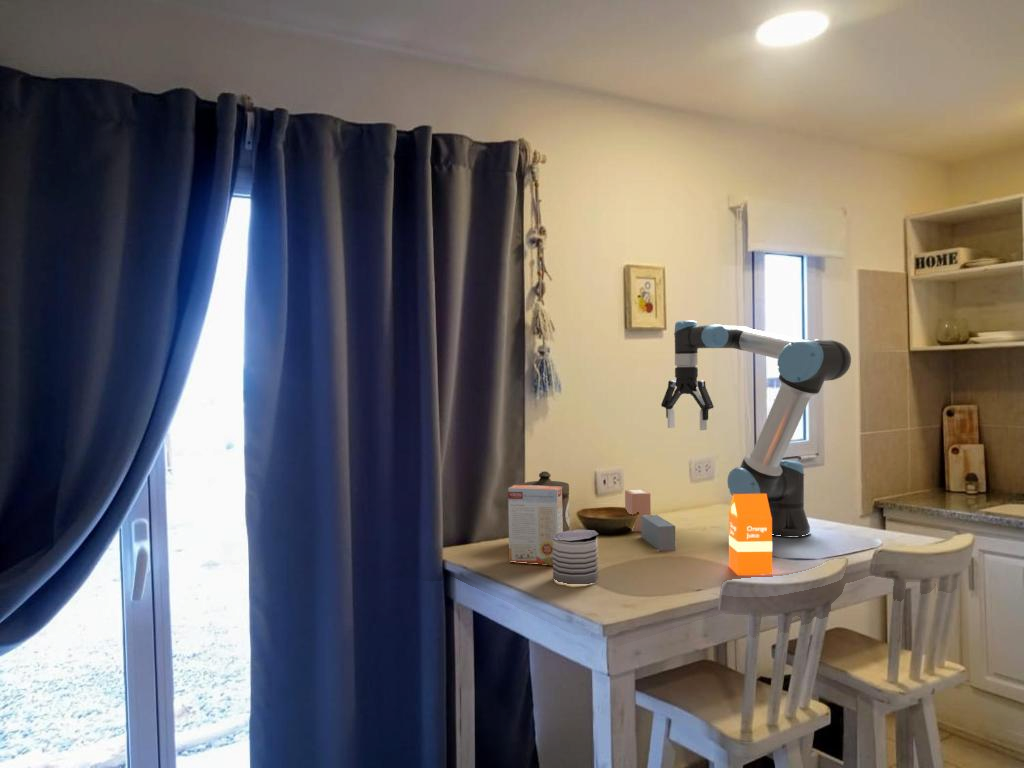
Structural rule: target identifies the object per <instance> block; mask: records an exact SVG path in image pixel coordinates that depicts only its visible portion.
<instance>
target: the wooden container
mask: <svg viewBox="0 0 1024 768" xmlns="http://www.w3.org/2000/svg"><path fill="white" fill-rule="evenodd" d="M551 476H552V475H551V473H550V472H548V471H546V470H545V471H541V472H540V473H539V474H538V477H539V479H538V480H534V481H527V482H523V483H521V484H520V485H535V486H561V487H562V516H563V532H564V531H571V530H570V528H571V527H570V524H571V522H570V498H569V497H570V484H569V483H568V482H563V481H558V480H551V479H550V478H551Z"/></svg>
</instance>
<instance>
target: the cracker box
mask: <svg viewBox="0 0 1024 768" xmlns="http://www.w3.org/2000/svg"><path fill="white" fill-rule="evenodd" d="M507 495H508V497H507V499H508V500H507V501H508V505H507V506H508V507H507V508H508V510H507V511H508V515H507V516H508V552H509V553H508V554H509V555H508V557H509V559H508V561H516V562H527V563H538V564H547V565H553V537H552V536H553V535H555V534H558V533H560V532H563V516H562V487H561V486H535V485H521V484H514V485H512V486H509V487H508V488H507Z"/></svg>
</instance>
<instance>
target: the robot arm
mask: <svg viewBox="0 0 1024 768" xmlns="http://www.w3.org/2000/svg"><path fill="white" fill-rule="evenodd" d="M673 335H674V366H675V368H674V377H675V380H669V381H668V382H667V389H666V391H665V393H664V397H663V399H662V402H661V408H665V411H666V412H665V414H666V415H665V416H666V417H665V418H666V419H667V428H668V429H672V428H676V427H675V426H676V425H675V408H674V406H675V405H676V403H678V402H677V401H678V400H679V399H680V398H681V396H682V395H684V394H685V395H691V396H692V397H693V399H694V400H695V402H696V403H697V405H698V406H699V408H700V410H699V431H707V429H708V427H707V425H708V424H707V423H708V420H709V410H712V409H713V408H715V407H714V404H713V401H712V398H711V396H710V394H709V391H708V389H707V386H706V381H705V380H697V379H698V378H699V377H698V376H699V375H698V372H699V369H698V367H697V366H698V365H699V364H698V360H699V359H698V353H699V351H698V349H735V350H739V351H745V352H749V353H753V354H757V355H761V356H765V357H769V358H772V359H777V366H778V369H777V370H778V373H779V375H778V381H779V382H780V384H781V385H780V387H779V389H778V391H777V393H776V396H775V399H774V401H773V402H772V403H773V404H772V406H771V407H770V409H769V412H768V415H767V416H766V419H765V422H764V424H763V427H762V429H761V431H760V434H759V435H758V438H757V440H756V442H755V445H754V447H753V449H752V452H751V453H746V454H745V456H744V457H743V460H742V461H741V464H740V466H737V467H734V468H733V469H731V471H729V474H727V475H728V476H727V488H728V489H729V493H730V495H731V498H732V497H733V494H767V499H768V503H769V508H770V513H771V517H772V534H774V535H781V536H802V535H806V534H808V533H809V532H810V533H811V527H810V524H809V520H808V518H807V515H806V512H805V511H806V510H805V506H804V505H805V504H804V501H805V496H804V495H805V492H804V491H805V489H804V488H805V484H804V483H805V480H804V479H805V477H804V476H805V473H804V472H805V471H804V465H803V463H802V462H800V461H798V460H797V461H795V460H788V459H783V458H784V457H785V455H786V452H787V451H788V448H789V445H790V443H791V441H792V439H793V436H794V434H795V432H796V430H797V427H798V426H799V423H800V421H801V419H802V417H803V414H804V413H805V410H806V408H807V406H808V404H809V402H810V399H811V397H812V396H815V395H818V394H819V393H820V391H821V388H822V387H823V386H824V385H823V384H824V382H825V381H835V380H838V379H840V378H842V377H843V376H845V374H846V373H847V372H848V371H849V370H850V367H851V364H852V358H851V357H852V356H851V353H850V350H849V349H848V348H847V346H845V344H843V343H842V342H839V341H836V340H833V339H832V340H830V339H829V340H828V339H827V340H825V339H824V340H823V339H809V338H808V339H802V338H796V337H791V336H789V335H788V336H787V335H782V334H777V333H773V332H767V331H762V330H757V329H753V328H750V327H749V326H745V325H723V324H712V323H711V324H706V325H698V322H697V321H695V320H680V321H676V322H675V323H674V332H673Z"/></svg>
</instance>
